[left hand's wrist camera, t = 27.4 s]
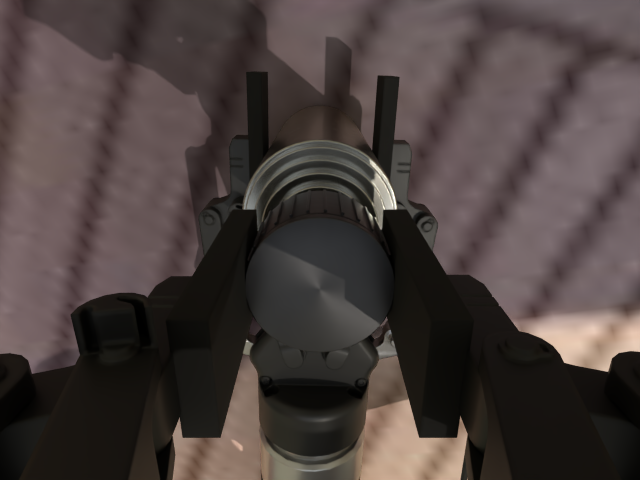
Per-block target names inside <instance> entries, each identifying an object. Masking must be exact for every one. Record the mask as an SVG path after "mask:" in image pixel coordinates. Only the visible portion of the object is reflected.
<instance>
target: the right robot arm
mask: <svg viewBox="0 0 640 480" xmlns="http://www.w3.org/2000/svg"><path fill="white" fill-rule="evenodd" d="M246 75H247V110H248V135H236V136H235V137H234V138H233V139H232V141H231V144H230V147H229V157H230V179H231V194H229V195H227V196H224V197H221V198H213V199H212V200H211V201H210V202H209V203H208V204H207V206H206V207H205V208H204V209H203V211H202V212H201V213H200V215H199V225H200V232H201V238H202V245H203V252H204V256H205V254H206V253H207V251H208V249H209V248H210V246H211V244H212V243H213V241H214V239H215V238H216V236H217V234H218V233H219V231H220V229H221V228H222V226H223V225H224V223H225V221H226V220H227V218H228V216H229V215H230V213H231V211H232V210H233V209H242V206H243V199H244V195H245V191H246V189H247V186H248V184H249V182H250V180H251V178H252V176H253V175H254V173H255V171H256V170H257V168H258V166H259V165H260V163H261V161H262V160H263V158H264V157H265V155H266V153H267V152H268V150H269V144H268V72H246ZM398 88H399V77H395V76H378V79H377V93H376V106H375V120H374V134H373V147H372V152H373V153H374V155H375V157H376V158H377V160H378V161H379V163H380V165H381V166H382V168H383V170H384V171H385V173H386V175H387V176H388V178H389V180H390V182H391V184H392V186H393V189H394V192H395V195H396V200H397V205H398V209H407V210H408V212H409V213H410V215H411V217H412V218H413V220H414V222H415V223H416V225H417V227H418V228H419V230H420V232H421V233H422V235H423V237H424V238H425V240H426V242H427V243H428V245H429V247H430V248H431V250H432V251H433V247H434V242H435V237H436V233H437V228H438V223H437V221H436V219H435V218H434V216H433V215H432V214H431V212H430V211H429V210H428V208H427V207H426V206H425V205H423V204H417V203H414V202H412V201H410V200H408V186H409V177H410V167H411V158H412V152H411V149H410V145H409V144H408V143H407V142H406V141H405V140H394V132H395V121H396V110H397V99H398ZM243 354H245V355H249V356H250V360H251V362H252V364H253V365H254V367H255V368H256V370H257V373H258V387H259V420H260V429H259V432H260V455H261V479H262V480H360V473H361V467H362V456H363V444H364V425H365V419H366V408H367V396H368V385H369V377H370V374H371V372H372V371H373V369H374V368H375V367H376V365H377V363H378V361H379V359H382V358H387V357H392V356H397V352H396V349H395V345H394V341H393V337H392V334H391V330H390V326H389V322H388V321H387V322H386V324H385V325H384V326H383V330H382V334H381V336H380V337H378V338H377V339H374V338H373V337H372V335H370V336H368V337H367V338H366V339H364V340H363V341H361V342H359V343H357V344H355V345H353V346H351V347H348V348H345V349H341V350H337V351H332V352H309V351H303V350H299V349H295V348H292V347H290V346H287V345H285V344H283V343H281V342H279V341H277V340H276V339H274V338H273V337H271V336H270V335H269V334H268V333H267V332H266V331H264V330H263V329H261V330H260V331H259V332H258V333H257V334H256V336H254V335H252V334H251V333H250V332H248V336H247V340H246V344H245V347H244V351H243Z"/></svg>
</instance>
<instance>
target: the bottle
mask: <svg viewBox="0 0 640 480" xmlns="http://www.w3.org/2000/svg"><path fill="white" fill-rule="evenodd" d="M308 190H311V191H323V190H326V191H330V192H336V193H338V192H341V194H342V195H345V196H347V197H350V198H355V201H357V202H358V203H360V204H361V205H362V206H363V207H365V206H366V207H367V210H368V212H369V213H370V214H371V215H372V217H373V218H374V217H375V218H376V220H377V222H378V225H379V228H380V229H382V221H383V209H398V205H397V200H396V195H395V192H394V189H393V186H392V184H391V182H390V180H389V178H388V176H387V175H386V173H385V171H384V170H383V168H382V166H381V165H380V163H379V161H378V160H377V158H376V157H375V155H374V153H373V152H372V150H371V148H370V147H369V145H368V143H367V142H366V140H365V139H364V137H363V135H362V134H361V132H360V130H359V129H358V127H357V126H356V124H355V123H354V121H353V120H352V119H351V118H350V117H349V116H348V115H346V114H345V113H344V112H342V111H340V110H338V109H336V108H333V107H329V106H320V105H318V106H311V107H307V108H304V109H302V110H300V111H298V112H296V113H295V114H294V115H292V116H291V117H290V118H289V119H288V120H287V121H286V123H285V124H284V125H283V127H282V129H281V130H280V132H279V134H278V135H277V137H276V138H275V140H274V142H273V143H272V145H271V147H270V148H269V150H268V152H267V153H266V155H265V157H264V158H263V160H262V161H261V163H260V165H259V166H258V168H257V170H256V171H255V173H254V175H253V176H252V178H251V180H250V182H249V184H248V186H247V189H246V191H245V195H244V199H243V206H242V209H257V226H258V230H259V228H260V225H261V223H262V221H263V222H264V221H265V220H266V218H267V216H268V214H269V211H270V210H273V209H275V208H276V207H277V206H278V205H279V204H280V202H281V201H285V200H287V199H288V198H290V197H292V196H293V195H294V194H296V195H298V194H300V193H305V192H308Z"/></svg>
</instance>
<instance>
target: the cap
mask: <svg viewBox="0 0 640 480" xmlns="http://www.w3.org/2000/svg"><path fill="white" fill-rule="evenodd" d="M390 257H392V256H391V253H390V250H389V248H388V245H387V242H386V240H385V237H384V234H383V232H382V229H380V228H379V225H378V222H377V220H376V218H375V217H374V218H373V217H372V215H371V214H370V213H369V212H368V210H367V207H366V206H365V207H363V206H362V205H361V204H360V203H358V202H357V201H355V198H350V197H347V196H345V195H342V194H341V192H338V193H336V192H330V191H326V190H323V191H311V190H308V192H305V193H300V194H298V195H296V194H294V195H293V196H292V197H290V198H288V199H287V200H285V201H281V202H280V204H279V205H278V206H277V207H276V208H275V209H273V210H270V211H269V214H268V216H267V218H266V220H265V221H264V222H263V221H262V223H261V225H260V228H259V230H258V233H257V235H256V237H255V240H254V243H253V245H252V248H251V251H250V253H249V256H248V259H247V263H248V265H247V269H246V272H245V287H246V300H247V304H248V307H249V309H250V311H251V313H252V315H253V317H254V318H255V320H256V321H257V323H258V324H259V325H260V326H261V327H262V329H263V330H264V331H266V332H267V333H268V334H269V335H270V336H271V337H273V338H274V339H276V340H277V341H279V342H281V343H283V344H285V345H287V346H290V347H292V348H295V349H299V350H303V351H309V352H332V351H337V350H341V349H345V348H348V347H351V346H353V345H355V344H357V343H359V342H361V341H363V340H364V339H366V338H367V337H368V336H370V335H371V334H372V333H373V332H374V331H375V330H376V329H378V328H379V326H380V325H381V324H382V323H383V321H384V320H385V318H386V317H387V315H388V313H389V311H390V309H391V307H392V304H393V297H394V283H395V273H394V268H393V265H392V262H391V260H390Z"/></svg>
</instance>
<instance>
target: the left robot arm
mask: <svg viewBox="0 0 640 480" xmlns="http://www.w3.org/2000/svg"><path fill="white" fill-rule="evenodd" d="M382 232H383V234H384V237H385V240H386V242H387V245H388V248H389V250H390V253H391V256H392V257H390V260H391V262H392V265H393V268H394V273H395V283H394V297H393V304H392V307H391V309H390V311H389V313H388V315H387V319H388V322H389V326H390V330H391V334H392V337H393V341H394V345H395V349H396V352H397V356H398V360H399V364H400V367H401V371H402V375H403V379H404V382H405V386H406V390H407V394H408V397H409V401H410V405H411V409H412V412H413V416H414V420H415V424H416V427H417V431H418V435H419V438H457V434H458V427H459V420H460V416H461V418H462V421H463V423H464V426H465V428H466V431H467V433H468V436H467V443H466V449H465V455H464V462H463V468H462V474H461V480H467V477H468V480H640V352H634V351H629V352H623V353H618V354H617V355H616V356H615V357H613V358H612V361H611V364H610V368H609V371H608V372H605V371H600V370H595V369H590V368H584V367H579V366H574V365H570V364H566V363H564V362H563V360H562V358H561V356H560V354H559V353H558V352H557V350H556V349H555V348H554V347H553V346H552V345H551V344H549V343H548V342H546V341H545V340H543V339H541V338H539V337H536V336H534V335H531V334H529V333H525V332H520V331H519V330H518V329H517V328H516V326H515V325H514V324H513V322H512V321H511V320H510V318H509V317H508V316H507V314H506V313H505V312H504V310H503V309H502V308H501V306H499V304H498V302H497V301H496V300H495V298H494V297H492V294H491V293H490V292H489V290H488V289H487V288H486V286H485V285H484V284H483V283H481V282H479V281H478V280H476V279H475V278H473V277H471V276H470V275H446V273H445V271H444V270H443V268H442V266H441V265H440V263H439V261H438V260H437V258H436V256H435V255H434V253H433V251H432V250H431V248H430V247H429V245H428V243H427V242H426V240H425V238H424V237H423V235H422V233H421V232H420V230H419V228H418V227H417V225H416V223H415V222H414V220H413V218H412V217H411V215H410V213H409V212H408V210H407V209H383V221H382ZM257 233H258V226H257V209H233V210H232V211H231V213H230V215H229V216H228V218H227V220H226V221H225V223H224V225H223V226H222V228H221V229H220V231H219V233H218V234H217V236H216V238H215V239H214V241H213V243H212V244H211V246H210V248H209V249H208V251H207V253H206V254H205V256H204V258H203V259H202V261H201V263H200V264H199V266H198V267H197V269H196V271H195V272H194V274H193V276H171V277H169V278H168V279H166V280H164V281H163V282H161V283H160V284H158V285H156V287H155V288H154V289H153V291H152V292H151V293H150V295H149V296H148V298H147V297H146V296H145V295H141V294H136V293H116V294H111V295H105V296H102V297H99V298H96V299H93V300H90V301H88V302H86V303H85V304H83V305H81V306H79V307H78V308H77V309H76V310H75V311H74V312H73V313H72V314H71V319H72V323H73V327H74V331H75V336H76V340H77V344H78V348H79V352H80V356H79V358H78V360H77V362H76V365H73V366H70V367H66V368H61V369H56V370H50V371H45V372H40V373H35V374H32V372H31V369H30V366H29V362H28V360H27V359H25V358H24V357H23V356H22V355H16V354H11V353H8V354H0V480H172V478H173V470H174V462H175V449H174V443H173V436H172V435H173V432H174V430H175V427H176V425H177V422H178V420H179V417H180V422H181V429H182V436H183V438H221V434H222V430H223V426H224V423H225V419H226V415H227V411H228V408H229V404H230V400H231V396H232V393H233V389H234V385H235V381H236V378H237V374H238V370H239V366H240V362H241V359H242V355H243V351H244V347H245V344H246V340H247V336H248V332H249V329H250V325H251V321H252V317H253V315H252V313H251V311H250V309H249V307H248V304H247V300H246V287H245V272H246V269H247V265H248V263H247V259H248V256H249V253H250V251H251V248H252V245H253V243H254V240H255V237H256V235H257Z"/></svg>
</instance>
